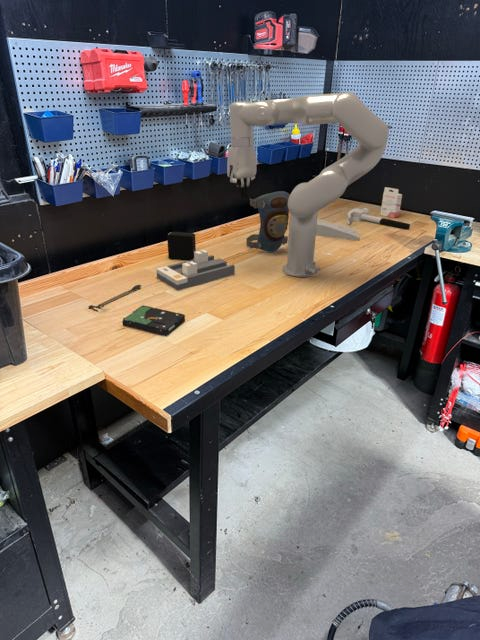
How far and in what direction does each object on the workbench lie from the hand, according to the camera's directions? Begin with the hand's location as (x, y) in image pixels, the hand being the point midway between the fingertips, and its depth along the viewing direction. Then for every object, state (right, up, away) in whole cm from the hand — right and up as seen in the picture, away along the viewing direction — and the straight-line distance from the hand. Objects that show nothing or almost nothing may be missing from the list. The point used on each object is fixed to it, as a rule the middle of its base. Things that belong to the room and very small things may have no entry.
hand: (243, 197), depth 160 cm
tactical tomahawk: (-39, -37, -15) cm, 56 cm away
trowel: (+43, -4, +51) cm, 67 cm away
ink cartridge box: (+78, +12, +81) cm, 113 cm away
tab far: (-15, -23, +7) cm, 28 cm away
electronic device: (-24, -19, +19) cm, 36 cm away
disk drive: (-26, -45, -30) cm, 59 cm away
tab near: (-18, -28, -4) cm, 34 cm away
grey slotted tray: (-17, -27, +2) cm, 32 cm away
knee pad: (+10, -13, +31) cm, 35 cm away
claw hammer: (+67, +4, +66) cm, 94 cm away
